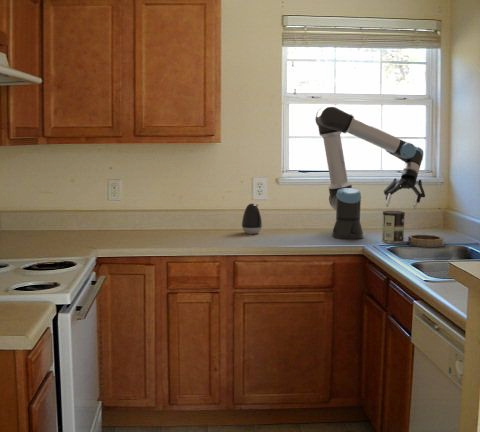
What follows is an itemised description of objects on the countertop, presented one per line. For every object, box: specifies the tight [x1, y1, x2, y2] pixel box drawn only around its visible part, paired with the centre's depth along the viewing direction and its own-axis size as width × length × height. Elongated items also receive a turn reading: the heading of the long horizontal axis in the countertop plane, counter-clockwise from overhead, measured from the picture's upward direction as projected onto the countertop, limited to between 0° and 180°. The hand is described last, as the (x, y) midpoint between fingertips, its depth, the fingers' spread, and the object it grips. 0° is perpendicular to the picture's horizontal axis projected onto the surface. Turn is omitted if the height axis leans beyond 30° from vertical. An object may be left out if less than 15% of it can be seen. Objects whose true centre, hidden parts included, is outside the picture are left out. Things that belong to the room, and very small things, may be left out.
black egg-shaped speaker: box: [241, 203, 263, 235], centre depth 337 cm, size 10×10×15 cm
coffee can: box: [381, 210, 406, 244], centre depth 317 cm, size 10×10×14 cm
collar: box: [406, 234, 445, 249], centre depth 310 cm, size 17×17×3 cm
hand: (400, 206), depth 325 cm, fingers open, 13 cm apart
